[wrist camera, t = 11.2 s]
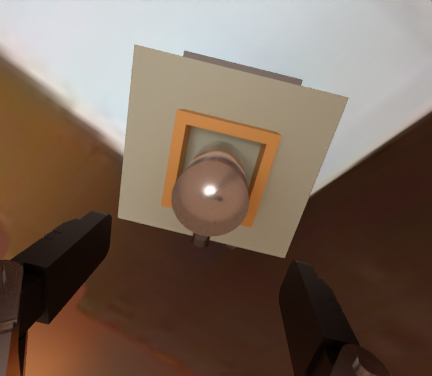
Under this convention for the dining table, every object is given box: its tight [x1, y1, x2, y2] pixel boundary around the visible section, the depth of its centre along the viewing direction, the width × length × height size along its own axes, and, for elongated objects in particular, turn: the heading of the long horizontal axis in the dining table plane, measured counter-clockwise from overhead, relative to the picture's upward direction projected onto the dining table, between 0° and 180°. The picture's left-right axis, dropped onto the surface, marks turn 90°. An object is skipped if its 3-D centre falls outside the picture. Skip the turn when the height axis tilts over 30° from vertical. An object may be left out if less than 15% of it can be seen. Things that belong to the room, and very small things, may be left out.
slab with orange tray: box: [118, 45, 349, 258], centre depth 27 cm, size 20×19×10 cm
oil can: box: [171, 141, 249, 248], centre depth 20 cm, size 7×5×10 cm
